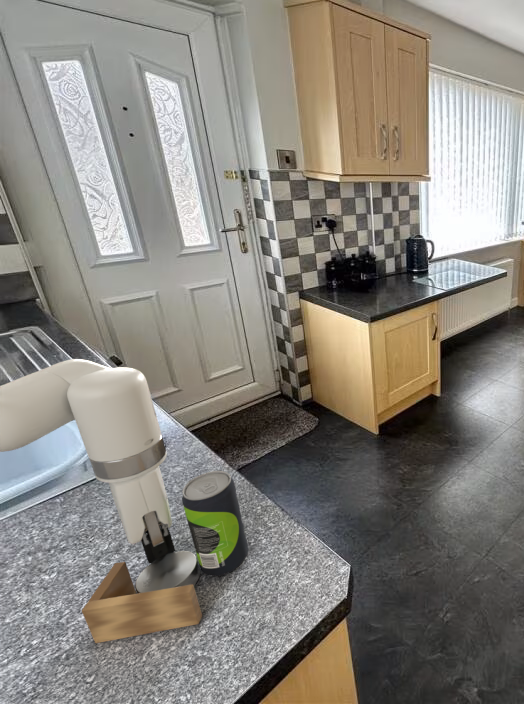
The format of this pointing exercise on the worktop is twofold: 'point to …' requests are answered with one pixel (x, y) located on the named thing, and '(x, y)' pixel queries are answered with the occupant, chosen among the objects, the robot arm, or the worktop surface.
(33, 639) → the worktop surface
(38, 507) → the worktop surface
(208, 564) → the beverage can
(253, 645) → the worktop surface
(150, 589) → the brushed steel puck
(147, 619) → the corner guard
